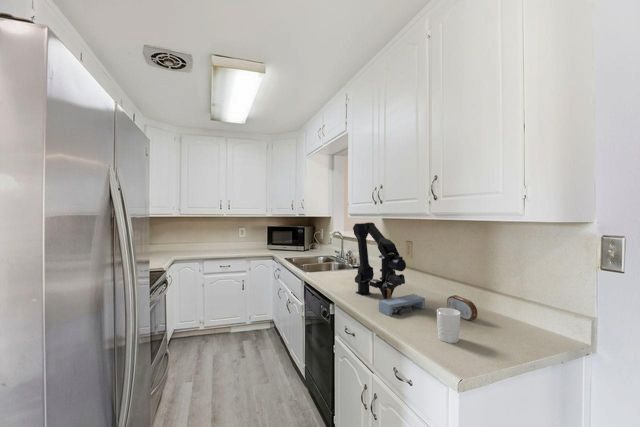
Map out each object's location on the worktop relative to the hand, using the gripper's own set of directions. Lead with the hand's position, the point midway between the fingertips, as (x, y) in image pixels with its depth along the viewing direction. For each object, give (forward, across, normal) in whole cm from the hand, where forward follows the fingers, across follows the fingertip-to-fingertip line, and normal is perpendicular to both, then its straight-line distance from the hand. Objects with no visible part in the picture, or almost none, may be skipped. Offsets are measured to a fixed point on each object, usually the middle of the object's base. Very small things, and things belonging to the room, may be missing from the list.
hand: (387, 299), depth 144 cm
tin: (+3, +16, -29) cm, 33 cm away
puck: (+3, -4, -10) cm, 11 cm away
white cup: (+3, -8, -41) cm, 42 cm away
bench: (+2, 0, -10) cm, 10 cm away
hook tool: (+2, -2, -7) cm, 7 cm away
